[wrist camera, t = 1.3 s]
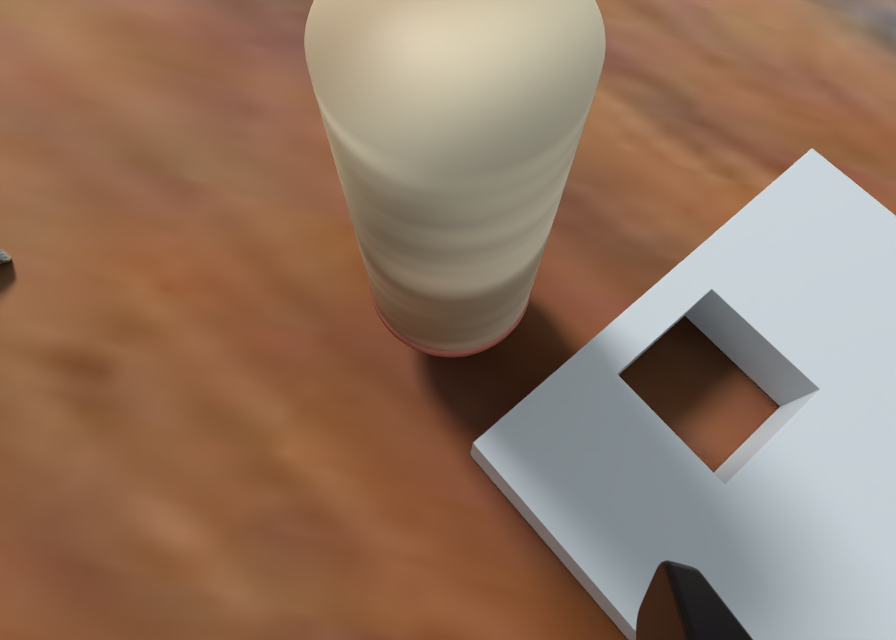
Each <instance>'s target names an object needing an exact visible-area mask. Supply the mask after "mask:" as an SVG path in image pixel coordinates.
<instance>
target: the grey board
mask: <svg viewBox="0 0 896 640" xmlns="http://www.w3.org/2000/svg"><path fill="white" fill-rule="evenodd" d="M684 316H686V317H687V318H688V319H689V320H690V321H691V322H692V323H693V324H694V325H695V326H696V327H697V328H698V329H699V330H700V331H701V332H702V333H703V334H705V335H706V336H707V337H708V338H709V339H710V340H711V341H712V342H713V343H714V344H715V345H716V346H717V347H718V348H719V349H720V350H721V351H722V352H723V353H724V354H725V355H727V356H728V357H729V358H730V359H731V360H732V361H733V362H734V363H735V364H736V365H737V366H738V367H739V368H740V369H741V370H742V371H743V372H744V373H745V374H746V375H747V376H748V377H750V378H751V379H752V380H753V381H754V382H755V383H756V384H757V385H758V386H759V387H760V388H761V389H762V390H763V391H764V392H765V393H766V394H767V395H768V396H769V397H770V398H772V399H773V400H774V401H775V402H776V403H777V404H778V405H779V406H780V407H779V408H778V409H777V410H776V411H775V412H774V413H773V414H772V415H771V416H770V417H769V418H768V419H767V420H766V421H765V422H764V423H763V424H762V425H761V426H760V427H759V428H758V429H757V430H756V431H755V432H754V433H753V434H752V435H751V436H750V437H749V438H748V439H747V440H746V441H745V442H744V443H743V444H742V445H741V446H740V447H739V448H738V449H737V450H736V451H735V452H734V453H733V454H732V455H731V456H730V457H729V458H728V459H727V460H726V461H725V462H724V463H723V464H722V465H721V466H720V467H719V468H718V469H717V470H716V471H715V472H714V473H713V472H712V471H711V470H710V469H709V468H708V467H707V466H706V465H705V464H704V463H703V462H702V461H701V460H700V458H699V457H698V456H697V455H696V454H695V453H694V452H693V451H692V450H691V449H690V448H689V447H688V446H687V445H686V444H685V443H684V442H683V441H682V440H681V439H680V438H679V437H678V436H677V435H676V434H675V433H674V432H673V431H672V430H671V429H670V428H669V427H668V426H667V425H666V424H665V423H664V422H663V421H662V420H661V419H660V417H659V416H658V415H657V414H656V413H655V412H654V411H653V410H652V409H651V408H650V407H649V406H648V405H647V404H646V403H645V402H644V401H643V400H642V399H641V398H640V397H639V396H638V395H637V394H636V393H635V392H634V391H633V390H632V389H631V388H630V387H629V386H628V385H627V384H626V383H625V382H624V381H623V380H622V379H621V378H620V376H619V374H620V373H621V372H623V371H624V370H625V369H626V368H627V367H628V366H629V365H630V364H632V363H633V362H634V361H635V360H636V359H637V358H638V357H639V356H640V355H642V354H643V353H644V352H645V351H646V350H647V349H648V348H649V347H650V346H652V345H653V344H654V343H655V342H656V341H657V340H658V339H659V338H660V337H662V336H663V335H664V334H665V333H666V332H667V331H668V330H669V329H670V328H672V327H673V326H674V325H675V324H676V323H677V322H678V321H679V320H680V319H682V318H683V317H684ZM470 455H471V457H472V458H473V459H474V460H475V461H476V462H477V464H478V465H479V466H480V467H481V468H482V469H483V471H484V472H485V473H486V474H487V475H488V476H489V478H490V479H491V480H492V481H493V482H494V483H495V485H496V486H497V487H498V488H499V489H500V490H501V492H502V493H503V494H504V495H505V496H506V497H507V499H508V500H509V501H510V502H511V503H512V504H513V506H514V507H515V508H516V509H517V510H518V511H519V513H520V514H521V515H522V516H523V517H524V518H525V520H526V521H527V522H528V523H529V524H530V525H531V527H532V528H533V529H534V530H535V531H536V532H537V534H538V535H539V536H540V537H541V538H542V539H543V541H544V542H545V543H546V544H547V545H548V546H549V548H550V549H551V550H552V551H553V552H554V553H555V555H556V556H557V557H558V558H559V559H560V560H561V562H562V563H563V564H564V565H565V566H566V567H567V569H568V570H569V571H570V572H571V573H572V574H573V576H574V577H575V578H576V579H577V580H578V581H579V583H580V584H581V585H582V586H583V587H584V588H585V590H586V591H587V592H588V593H589V594H590V595H591V597H592V598H593V599H594V600H595V601H596V602H597V604H598V605H599V606H600V607H601V608H602V610H603V611H604V612H605V613H606V614H607V615H608V617H609V618H610V619H611V620H612V621H613V622H614V624H615V625H616V626H617V627H618V628H619V629H620V631H621V632H622V633H623V634H624V635H625V636H626V638H627V639H628V640H636V623H637V616H638V611H639V608H640V605H641V603H642V600H643V598H644V596H645V594H646V591H647V589H648V587H649V585H650V582H651V580H652V578H653V575H654V573H655V571H656V569H657V567H658V565H659V564H660V563H661V562H663V561H666V560H669V561H673V562H677V563H680V564H684V565H688V566H692V567H694V568H696V569H698V570H699V571H700V572H701V573H702V574H703V575H704V577H705V578H706V579H707V580H708V582H709V583H710V584H711V586H712V587H713V588H714V590H715V591H716V592H717V593H718V595H719V596H720V597H721V599H722V600H723V601H724V602H725V604H726V605H727V606H728V608H729V609H730V610H731V611H732V613H733V614H734V615H735V617H736V618H737V619H738V620H739V622H740V623H741V624H742V626H743V627H744V628H745V629H746V631H747V632H748V633H749V635H750V636H751V637H752V639H753V640H896V216H895V215H894V214H893V213H891V212H890V211H889V210H888V209H887V208H885V207H884V206H883V205H882V204H880V203H879V202H878V201H877V200H875V199H874V198H873V197H872V196H870V195H869V194H868V193H867V192H865V191H864V190H863V189H862V188H861V187H859V186H858V185H857V184H856V183H854V182H853V181H852V180H851V179H849V178H848V177H847V176H846V175H844V174H843V173H842V172H841V171H840V170H838V169H837V168H836V167H835V166H833V165H832V164H831V163H830V162H828V161H827V160H826V159H825V158H823V157H822V156H821V155H820V154H818V153H817V152H816V151H815V150H814V149H811V150H809V151H808V152H807V153H806V154H805V155H804V156H802V157H801V158H800V159H799V160H798V161H797V162H796V163H794V164H793V165H792V166H791V167H790V168H789V169H787V170H786V171H785V172H784V173H783V174H782V175H781V176H779V177H778V178H777V179H776V180H775V181H774V182H773V183H771V184H770V185H769V186H768V187H767V188H766V189H764V190H763V191H762V192H761V193H760V194H759V195H758V196H756V197H755V198H754V199H753V200H752V201H751V202H750V203H748V204H747V205H746V206H745V207H744V208H743V209H741V210H740V211H739V212H738V213H737V214H736V215H735V216H733V217H732V218H731V219H730V220H729V221H728V222H727V223H725V224H724V225H723V226H722V227H721V228H720V229H718V230H717V231H716V232H715V233H714V234H713V235H712V236H710V237H709V238H708V239H707V240H706V241H705V242H704V243H702V244H701V245H700V246H699V247H698V248H697V249H695V250H694V251H693V252H692V253H691V254H690V255H689V256H687V257H686V258H685V259H684V260H683V261H682V262H680V263H679V264H678V265H677V266H676V267H675V268H674V269H672V270H671V271H670V272H669V273H668V274H667V275H666V276H664V277H663V278H662V279H661V280H660V281H659V282H657V283H656V284H655V285H654V286H653V287H652V288H651V289H649V290H648V291H647V292H646V293H645V294H644V295H643V296H641V297H640V298H639V299H638V300H637V301H636V302H634V303H633V304H632V305H631V306H630V307H629V308H628V309H626V310H625V311H624V312H623V313H622V314H621V315H620V316H618V317H617V318H616V319H615V320H614V321H613V322H611V323H610V324H609V325H608V326H607V327H606V328H605V329H603V330H602V331H601V332H600V333H599V334H598V335H597V336H595V337H594V338H593V339H592V340H591V341H590V342H588V343H587V344H586V345H585V346H584V347H583V348H582V349H580V350H579V351H578V352H577V353H576V354H575V355H573V356H572V357H571V358H570V359H569V360H568V361H567V362H565V363H564V364H563V365H562V366H561V367H560V368H559V369H557V370H556V371H555V372H554V373H553V374H552V375H550V376H549V377H548V378H547V379H546V380H545V381H544V382H542V383H541V384H540V385H539V386H538V387H537V388H536V389H534V390H533V391H532V392H531V393H530V394H529V395H527V396H526V397H525V398H524V399H523V400H522V401H521V402H519V403H518V404H517V405H516V406H515V407H514V408H513V409H511V410H510V411H509V412H508V413H507V414H506V415H504V416H503V417H502V418H501V419H500V420H499V421H498V422H496V423H495V424H494V425H493V426H492V427H491V428H489V429H488V430H487V431H486V432H485V433H484V434H483V435H481V436H480V437H479V438H478V439H477V440H476V441H475V442H473V445H472V449H471V453H470Z"/></svg>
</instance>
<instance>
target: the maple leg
mask: <svg viewBox="0 0 896 640" xmlns="http://www.w3.org/2000/svg"><path fill="white" fill-rule="evenodd" d="M304 41H305V56H306V61H307V65H308V69H309V73H310V77H311V80H312V84H313V87H314V91H315V94H316V98H317V101H318V105H319V108H320V112H321V115H322V119H323V122H324V126H325V129H326V133H327V136H328V140H329V143H330V147H331V150H332V154H333V157H334V160H335V164H336V167H337V171H338V174H339V178H340V181H341V185H342V188H343V192H344V195H345V199H346V202H347V206H348V209H349V213H350V216H351V220H352V223H353V227H354V230H355V234H356V237H357V241H358V244H359V248H360V251H361V255H362V258H363V262H364V265H365V269H366V272H367V276H368V279H369V283H370V291H371V295H372V299H373V302H374V305H375V308H376V310H377V313H378V315H379V317H380V318H381V320H382V322H383V323H384V324H385V326H386V327H387V328H388V330H389V331H390V332H391V333H392V334H393V335H394V336H395V337H396V338H398V339H399V340H400V341H402V342H403V343H404V344H406V345H408V346H409V347H411V348H413V349H415V350H418V351H420V352H422V353H426V354H429V355H433V356H439V357H464V356H469V355H473V354H477V353H480V352H483V351H485V350H488V349H489V348H491V347H493V346H495V345H497V344H498V343H499V342H501V341H502V340H504V339H505V338H506V337H507V336H508V335H509V334H510V333H511V332H512V331H513V330H514V329H515V328H516V326H517V325H518V324H519V322H520V321H521V319H522V317H523V316H524V314H525V311H526V309H527V306H528V303H529V300H530V297H531V293H532V287H533V283H534V280H535V277H536V273H537V270H538V267H539V264H540V261H541V258H542V255H543V252H544V249H545V245H546V242H547V239H548V236H549V233H550V230H551V227H552V224H553V220H554V217H555V214H556V211H557V208H558V205H559V202H560V199H561V196H562V192H563V189H564V186H565V183H566V180H567V177H568V174H569V171H570V168H571V164H572V161H573V158H574V155H575V152H576V149H577V146H578V143H579V140H580V136H581V133H582V130H583V127H584V124H585V121H586V118H587V115H588V111H589V108H590V105H591V102H592V99H593V96H594V93H595V90H596V87H597V83H598V80H599V77H600V74H601V70H602V66H603V62H604V57H605V44H606V41H605V30H604V24H603V21H602V17H601V13H600V10H599V8H598V6H597V3H596V1H595V0H314V2H313V4H312V7H311V9H310V12H309V16H308V19H307V23H306V30H305V39H304Z"/></svg>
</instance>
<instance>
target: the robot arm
mask: <svg viewBox="0 0 896 640" xmlns="http://www.w3.org/2000/svg"><path fill="white" fill-rule="evenodd" d="M636 640H753V639H752V637H751V636H750V635H749V633H748V632H747V631H746V629H745V628H744V627H743V626H742V624H741V623H740V622H739V620H738V619H737V618H736V617H735V615H734V614H733V613H732V611H731V610H730V609H729V608H728V606H727V605H726V604H725V602H724V601H723V600H722V599H721V597H720V596H719V595H718V593H717V592H716V591H715V590H714V588H713V587H712V586H711V584H710V583H709V582H708V580H707V579H706V578H705V577H704V575H703V574H702V573H701V572H700V571H699V570H698V569H696V568H694V567H692V566H688V565H684V564H680V563H677V562H673V561H669V560H666V561H663V562H661V563H660V564H659V565H658V567H657V569H656V571H655V573H654V575H653V578H652V580H651V582H650V585H649V587H648V589H647V591H646V594H645V596H644V598H643V600H642V603H641V605H640V608H639V611H638V616H637V623H636Z"/></svg>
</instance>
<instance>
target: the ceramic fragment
mask: <svg viewBox="0 0 896 640" xmlns="http://www.w3.org/2000/svg"><path fill="white" fill-rule="evenodd" d="M10 260H11V257H10V256H9V255H8V254H7V253H6V252H4V251H3V250H1V249H0V264H2V263H6V262H9V261H10Z"/></svg>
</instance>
